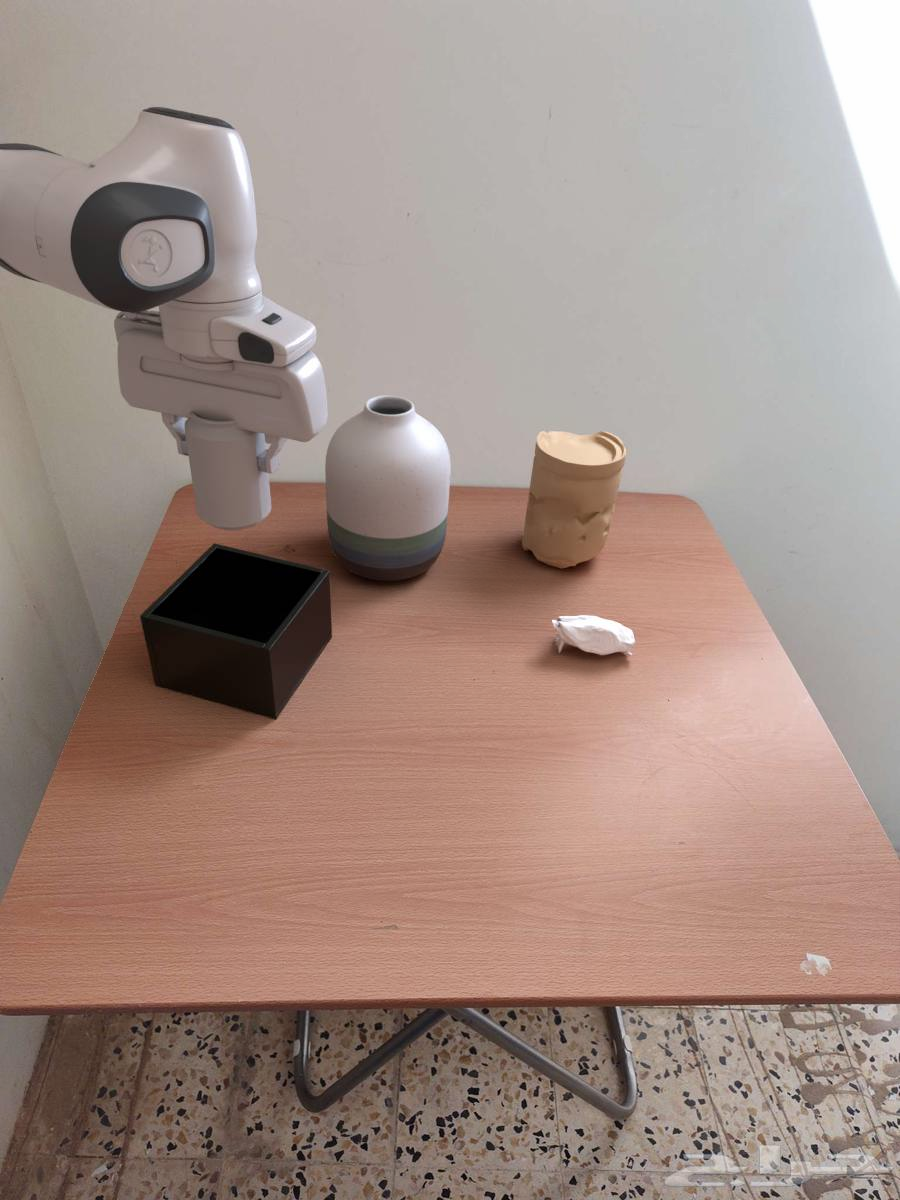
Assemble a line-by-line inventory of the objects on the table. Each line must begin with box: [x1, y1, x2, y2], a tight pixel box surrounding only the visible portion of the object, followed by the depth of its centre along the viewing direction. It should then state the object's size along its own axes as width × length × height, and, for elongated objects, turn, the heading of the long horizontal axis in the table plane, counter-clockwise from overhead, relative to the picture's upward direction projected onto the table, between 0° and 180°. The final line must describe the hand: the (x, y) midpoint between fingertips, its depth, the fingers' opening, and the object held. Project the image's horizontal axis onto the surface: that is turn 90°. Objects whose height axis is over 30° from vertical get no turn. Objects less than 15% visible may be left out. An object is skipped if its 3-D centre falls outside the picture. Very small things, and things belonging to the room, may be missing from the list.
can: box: [184, 412, 272, 532], centre depth 79 cm, size 8×8×12 cm
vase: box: [324, 394, 452, 582], centre depth 110 cm, size 17×17×24 cm
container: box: [521, 429, 627, 569], centre depth 117 cm, size 13×13×18 cm
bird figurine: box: [551, 614, 636, 657], centre depth 103 cm, size 5×7×10 cm
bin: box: [139, 543, 333, 720], centre depth 95 cm, size 16×16×10 cm
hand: (229, 462), depth 79 cm, fingers closed on can, 7 cm apart
